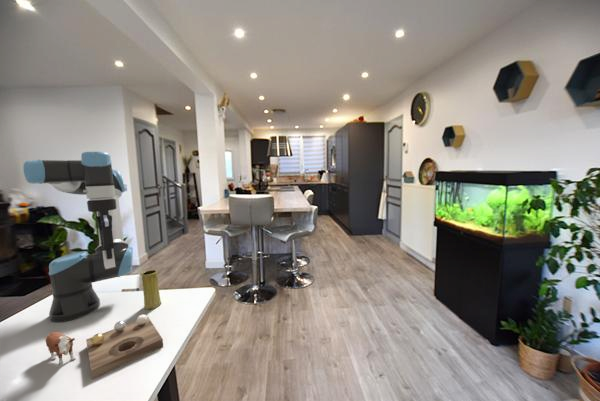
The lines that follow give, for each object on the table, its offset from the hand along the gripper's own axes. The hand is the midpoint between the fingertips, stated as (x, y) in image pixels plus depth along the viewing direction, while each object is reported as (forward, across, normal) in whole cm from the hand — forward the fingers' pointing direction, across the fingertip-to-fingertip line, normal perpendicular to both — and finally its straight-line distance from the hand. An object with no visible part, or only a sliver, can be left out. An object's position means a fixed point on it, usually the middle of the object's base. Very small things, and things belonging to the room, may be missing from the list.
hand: (109, 266), depth 85 cm
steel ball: (+18, +8, 0) cm, 20 cm away
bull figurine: (+23, +7, -14) cm, 28 cm away
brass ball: (+18, +11, -6) cm, 22 cm away
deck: (+22, +14, 0) cm, 26 cm away
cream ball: (+18, +9, +6) cm, 21 cm away
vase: (+23, -8, +13) cm, 27 cm away
